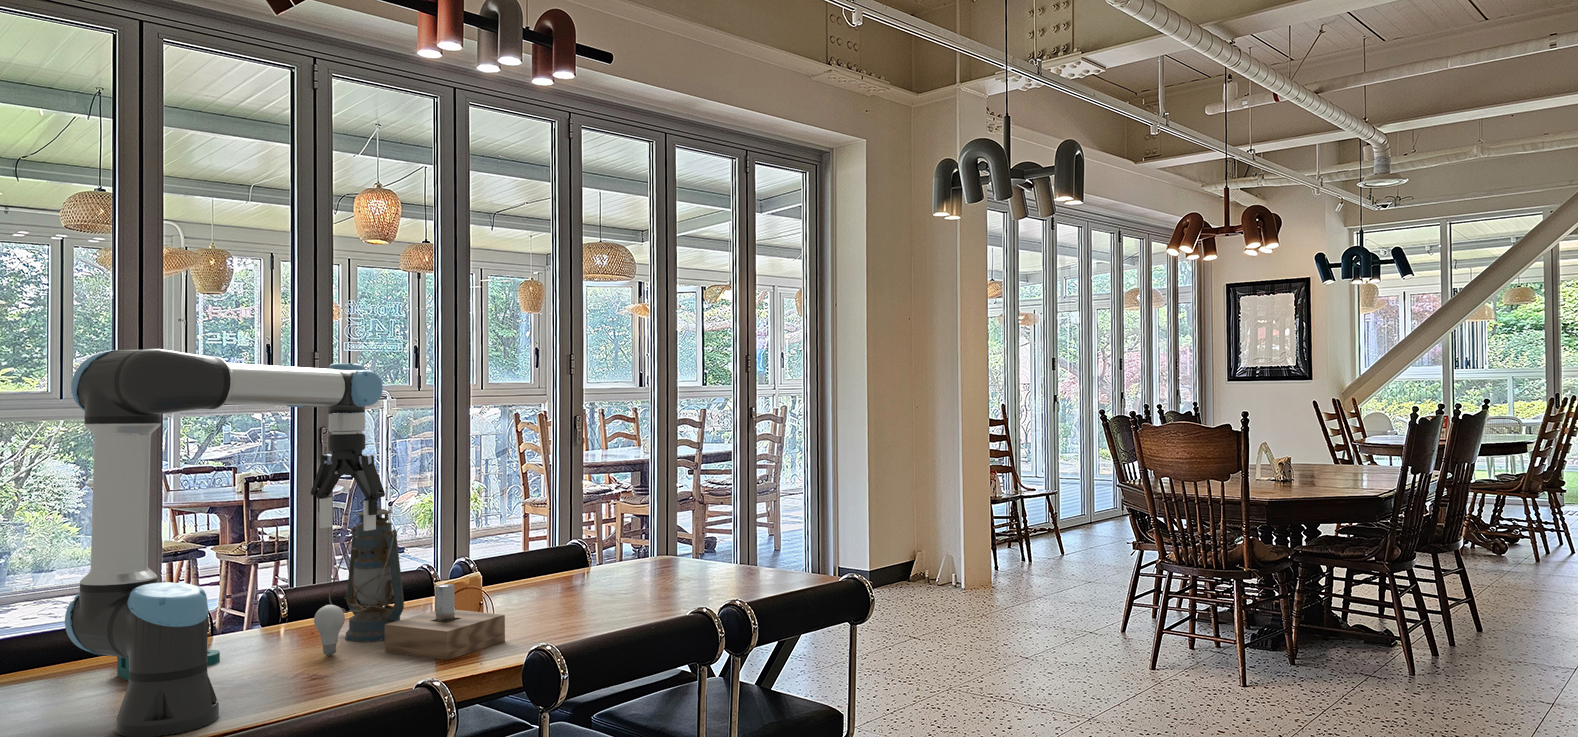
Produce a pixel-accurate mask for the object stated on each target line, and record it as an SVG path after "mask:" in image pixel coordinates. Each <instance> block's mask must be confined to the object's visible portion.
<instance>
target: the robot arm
mask: <svg viewBox="0 0 1578 737" xmlns="http://www.w3.org/2000/svg"><path fill="white" fill-rule="evenodd" d="M72 376H73V377H72V380H71V385H70V386H71V394H72V398H73V400H74V402H75V403H76V404H77V405H78V406H79V408H80V409H81V410H82V411H83V412H84V416H83V417H84V419H83V421H84V427H85V428H86V429H87V430H88V431H89V432H91V433H92V435H93V436H94V437H93V472H92V506H91V507H92V508H91V511H92V512H91V538H90V539H91V540H90V541H91V542H90V543H91V545H90V546H91V547H90V548H91V549H90V570H89V572H88V573H87V574H86V575H84V577H82V579H81V580H79V593H78V594H76V595H75V596H74V599H73V600H72V601H71V602H70V603H69V605H68V606H67V608H66V611H65V615H64V628H65V632H66V634H67V636H68V638H69V639H70V640H71V643H73V645H75V646H76V647H77V648H79V649H81V650H84V651H86V652H88V653H91V654H94V655H97V656H103V657H109V656H110V657H123V658H129V681H128V684H127V687H126V691H125V694H124V697H123V698H122V699H123V700H122V703H121V705H120V709H119V711H118V713H117V716H116V725H115V726H116V733H117V734H118V735H120V736H123V737H162V736H161V735H164V736H169V735H168V734H170V735H174V734H173V733H176V734H181V733H185V731H186V732H190V731H193V730H196V729H200V728H203V727H204V726H205V727H206V726H207V725H210V724H212V723H214V722H215V721H216V720H218V719H219V715H220V712H219V711H220V705H219V700H218V698H217V696H216V693H215V690H214V687H213V684H212V681H211V679H210V677H209V674H208V666H207V650H208V640H209V639H208V630H209V629H208V626H209V625H208V624H209V611H210V610H209V606H208V605H209V604H208V596H207V593H206V592H205V590H204V589H203V588H202V587H200V586H198V585H195V584H191V583H186V582H170V581H168V582H167V581H166V582H165V581H164V582H163V581H162V582H158V575H157V574H156V573H155V572H154V571H152V569H150V568H149V566H148V565H149V563H148V562H149V561H148V560H149V521H150V517H149V516H150V487H151V486H150V482H151V481H150V480H151V479H150V477H151V445H152V444H151V443H152V442H151V440H152V439H151V438H152V434H153V433H154V432H155V431H156V430H157V429H159V427H161V425H162V415H163V414H172V413H179V412H185V411H186V412H187V411H195V410H196V411H197V410H217V409H219V408H221V407H222V406H224V405H259V406H261V405H265V406H266V405H270V406H274V405H275V406H287V407H290V408H298V409H299V408H300V409H301V408H320V407H321V408H323V407H324V408H325V407H328V409H327V410H328V425H327V426H328V428H327V430H328V432H329V433H331V434H329V435H328V450H329V451H330V452H331V453H327V454H321V456H320V465H319V467H318V470H317V473H316V475H315V479H314V482H313V484H312V487H311V490H310V495H311V496H315V497H316V498H317V506H318V507H317V512H318V513H319V529H326V528H332V527H333V497H332V495H331V494H332V492H333V490H334V489H335V487H336V485H337V483H338V482H339V480H340V479H341V477H342V476H350V477H351V478H353V479H354V481H355V483H356V484H357V485H358V488H359V489H360V490H361V493H362V494H363V495H364V500H363V502H362V503H363V507H362V508H363V511H362V512H363V520H364V531H369V530H375V529H376V515H377V509H378V508H377V507H378V500H379V499H380V498H383V497H386V496H385V495H386V492H385V489H384V487H383V484H382V480H381V479H380V476H379V473H378V470H377V467H376V464H375V456H374V455H373V454H363V451H364V450H365V449H366V434H365V433H363V432H364V431H366V407H369V406H373V405H375V404H377V402H379V401H380V399H381V398H382V395H383V390H384V389H383V387H384V386H383V381H382V379H381V377H380V376H379V375H378V374H377V373H376V372H375V371H372V370H370V369H369V370H368V369H367V370H366V369H365V367H364V366H363V364H360V363H345V362H343V363H331V364H329V366H328V368H319V367H303V366H302V367H301V366H286V365H272V364H271V365H269V364H253V363H239V362H238V363H237V362H227V361H226V360H225V359H223V358H222V357H220V356H215V355H214V356H212V355H210V356H209V355H204V354H202V355H201V354H194V353H189V352H188V353H187V352H182V351H178V350H177V351H175V350H171V349H169V350H168V349H163V348H145V349H112V350H109V351H105V352H100V353H99V352H98V353H96V354H93V355H92V356H89V357H87V359H85V360H84V361H83V362H82V363H81V364H80V365H79V366H78V367H77V368H76V370H75V372H74V375H72ZM180 732H181V733H180ZM166 734H167V735H166Z"/></svg>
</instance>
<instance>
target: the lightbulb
mask: <svg viewBox="0 0 1578 737" xmlns="http://www.w3.org/2000/svg"><path fill="white" fill-rule="evenodd" d="M341 608H342V607H340V606H338V605H335V604H332V605H331V604H326V605H324V606H322V607H321V608H319V609H318V610H317V611H316V613H315V614H314V619H313V622H314V626H315V628H316V630H317V632H318V633H319V636H320V640H321V645H322V652H323V655H324V656H327V657H333V655H334V654H336V652H337V644H338V638H339V634H340V632H341V630H342V628H343V626H344V624H345V621H346V619H345V618H346V616H345V615H346V614H345V612H344V610H342V609H341Z"/></svg>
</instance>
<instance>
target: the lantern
mask: <svg viewBox="0 0 1578 737" xmlns="http://www.w3.org/2000/svg"><path fill="white" fill-rule="evenodd" d="M389 514H393V511H391V510H387V509H385V508H383V509H382V508H381V509H380V506H377V515H376V529H375V530H369V531H364V520H363V511H361V512H357V513H355V515H357V516H360V521H359V522H360V524H356V525H355V526H353V527H351V532H352V533H351V535H350V538H349V540H348V543H347V545H346V547H345V550H344V552H343V554H342V557H341V559H340V561H339V564H338V567H337V569H336V572H335V575H334V577H333V580H332V583H331V586H330V590H329V594H328V600H329V603H330V604H329V605H333V603H332V600H331V595H332V592H333V591H332V590H333V587H334V585H335V584H334V583H335V581H336V579H337V575H338V573H339V571H340V568H341V565H342V562H343V560H344V557H345V556H346V552H347V550H348V548H349V545H351V550H350V557H349V558H350V560H349V568H348V579H347V587H346V594H345V595H344V600H346V603H347V606H348V608H349V610H347V611H346V609H345V608H344V607H343V608H342V607H340V608H341V609H342V611H343V612H344V614H348V613H350V612H351V613H353V615H352V616H351V617H349V618H348V630H346V632H345V640H346V641H350V642H359V643H361V642H365V643H366V642H376V641H377V642H378V641H385V624H388V623H392V622H396V621H400V620H401V615H402V613H403V611H404V609H405V605H404V604H405V603H404V602H405V599H404V588H403V581H402V580H403V579H402V572H401V563H400V554H399V546H398V545H399V543H398V531H397V529H393V523H392V522H388V521H389V520H390V519H389ZM383 515H384V517H380V516H383ZM350 543H351V544H350ZM392 603H393V604H394V605H393V606H392V605H390V604H392Z"/></svg>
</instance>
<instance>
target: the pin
mask: <svg viewBox="0 0 1578 737" xmlns="http://www.w3.org/2000/svg"><path fill="white" fill-rule="evenodd" d="M434 593H435V596H434V597H435V599H434V600H435V611H436V622H444V623H447V622H450V621H454V620H455V610H456V609H455V584H452V583H445V584H444V583H443V584H437V585H435V591H434Z"/></svg>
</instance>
